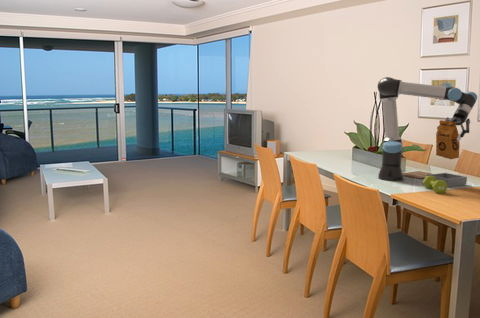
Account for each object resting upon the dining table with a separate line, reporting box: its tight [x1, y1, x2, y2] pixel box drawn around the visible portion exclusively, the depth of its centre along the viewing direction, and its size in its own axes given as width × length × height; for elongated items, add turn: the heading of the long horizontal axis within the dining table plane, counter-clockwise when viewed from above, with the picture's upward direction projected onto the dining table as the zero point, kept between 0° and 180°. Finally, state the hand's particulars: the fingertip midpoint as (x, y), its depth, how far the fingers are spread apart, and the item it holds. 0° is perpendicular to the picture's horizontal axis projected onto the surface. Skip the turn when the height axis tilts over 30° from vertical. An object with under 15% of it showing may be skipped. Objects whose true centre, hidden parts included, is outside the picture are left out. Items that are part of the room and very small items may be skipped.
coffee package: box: [435, 119, 461, 160], centre depth 262 cm, size 10×12×22 cm
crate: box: [427, 172, 468, 189], centre depth 267 cm, size 17×15×5 cm
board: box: [402, 170, 433, 180], centre depth 292 cm, size 20×18×1 cm
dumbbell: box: [422, 176, 448, 194], centre depth 249 cm, size 16×8×7 cm, turn 179°
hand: (447, 139), depth 262 cm, fingers closed on coffee package, 12 cm apart
